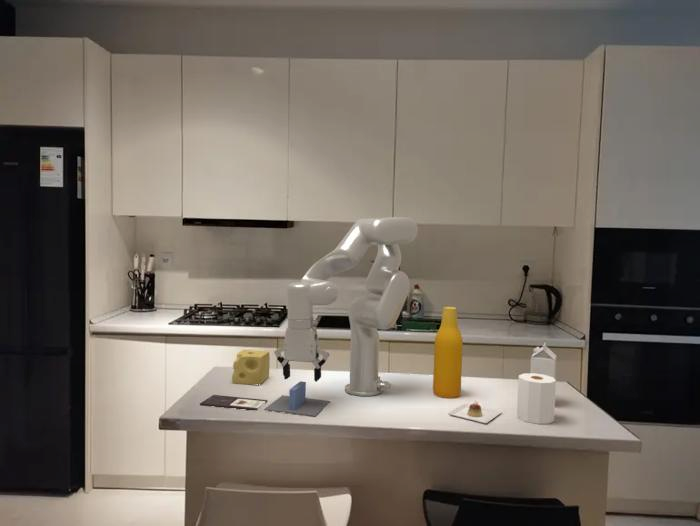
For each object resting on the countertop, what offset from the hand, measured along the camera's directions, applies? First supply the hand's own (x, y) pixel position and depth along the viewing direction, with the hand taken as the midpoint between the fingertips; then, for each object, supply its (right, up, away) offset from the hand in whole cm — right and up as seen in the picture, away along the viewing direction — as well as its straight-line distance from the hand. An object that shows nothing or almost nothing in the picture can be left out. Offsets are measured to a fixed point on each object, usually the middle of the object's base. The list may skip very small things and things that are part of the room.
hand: (302, 379), depth 162 cm
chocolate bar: (-21, -8, +1) cm, 22 cm away
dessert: (+52, -11, -3) cm, 53 cm away
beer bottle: (+47, -9, +16) cm, 50 cm away
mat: (-1, -8, 0) cm, 8 cm away
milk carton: (+76, -10, +10) cm, 77 cm away
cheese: (-20, -6, +26) cm, 33 cm away
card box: (-1, -8, -1) cm, 8 cm away
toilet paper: (+69, -11, -5) cm, 70 cm away
